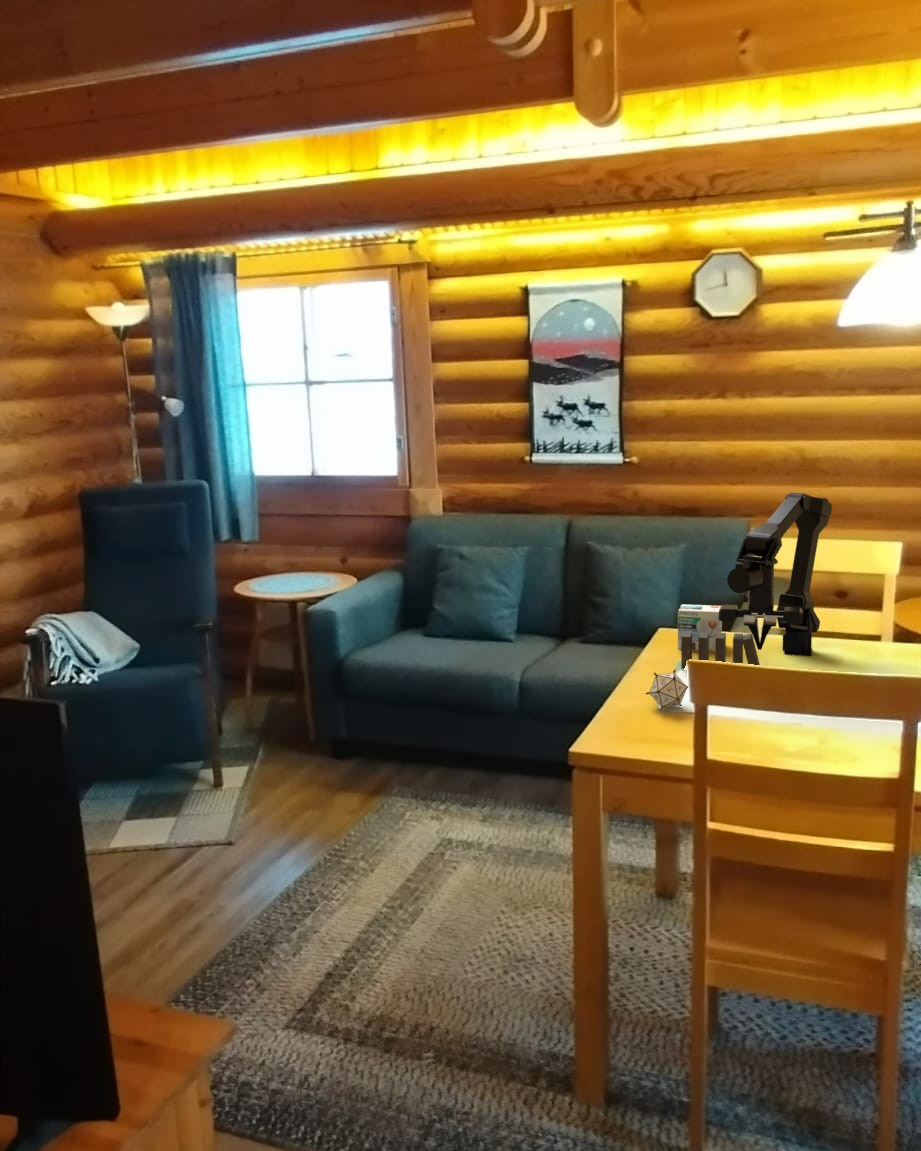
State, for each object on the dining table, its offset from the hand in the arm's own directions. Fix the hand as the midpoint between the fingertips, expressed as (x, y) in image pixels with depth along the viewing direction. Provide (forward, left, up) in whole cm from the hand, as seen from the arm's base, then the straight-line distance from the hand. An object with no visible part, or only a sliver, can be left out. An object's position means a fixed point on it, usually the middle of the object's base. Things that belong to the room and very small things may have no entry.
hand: (759, 649), depth 242 cm
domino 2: (+13, 0, -5) cm, 14 cm away
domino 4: (+5, 0, -5) cm, 7 cm away
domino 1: (+17, 0, -5) cm, 18 cm away
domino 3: (+9, 0, -5) cm, 10 cm away
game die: (+17, +30, -6) cm, 35 cm away
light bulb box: (+16, -17, -6) cm, 24 cm away
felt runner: (+9, 0, -5) cm, 10 cm away
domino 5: (+1, 0, -5) cm, 5 cm away
